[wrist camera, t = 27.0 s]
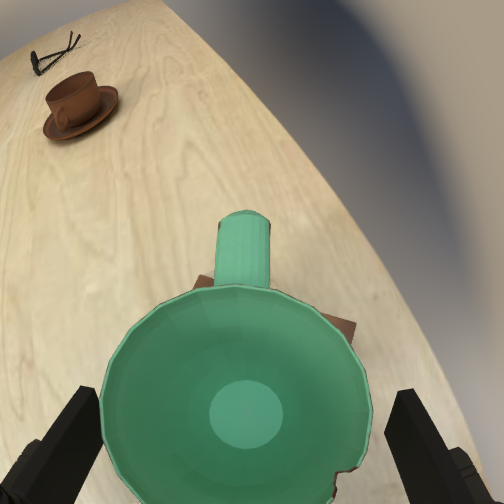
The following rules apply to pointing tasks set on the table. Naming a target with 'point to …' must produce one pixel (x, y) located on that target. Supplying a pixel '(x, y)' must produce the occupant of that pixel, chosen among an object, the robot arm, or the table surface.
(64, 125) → the cup and saucer
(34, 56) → the sunglasses
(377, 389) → the table surface
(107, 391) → the mug
